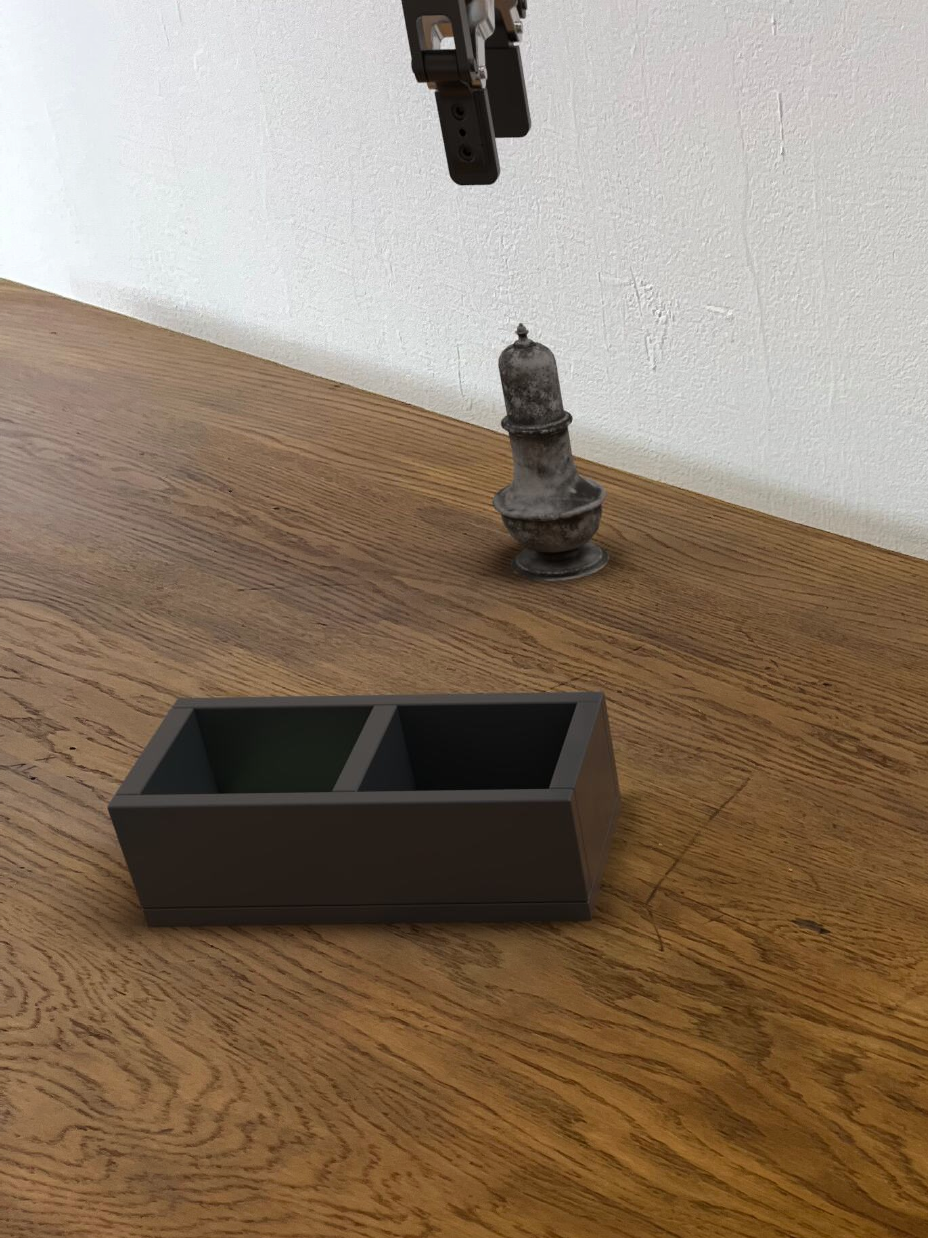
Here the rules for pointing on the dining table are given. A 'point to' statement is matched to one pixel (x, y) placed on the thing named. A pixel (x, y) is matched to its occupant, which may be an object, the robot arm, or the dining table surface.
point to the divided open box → (372, 810)
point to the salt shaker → (545, 472)
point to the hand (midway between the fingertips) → (493, 158)
